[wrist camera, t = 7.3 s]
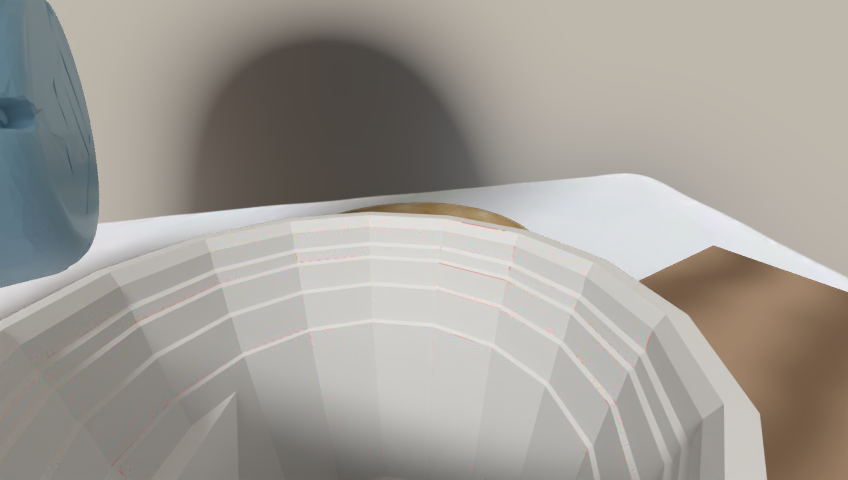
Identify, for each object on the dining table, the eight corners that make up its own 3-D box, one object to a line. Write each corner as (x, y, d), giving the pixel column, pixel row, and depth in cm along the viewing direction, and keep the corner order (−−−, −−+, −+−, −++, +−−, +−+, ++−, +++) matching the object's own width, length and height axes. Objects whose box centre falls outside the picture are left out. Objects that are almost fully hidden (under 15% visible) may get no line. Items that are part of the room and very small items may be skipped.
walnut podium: (520, 404, 25) (525, 334, 23) (697, 303, 34) (713, 245, 32) (999, 847, 11) (1124, 775, 9) (1102, 490, 20) (1180, 408, 18)
